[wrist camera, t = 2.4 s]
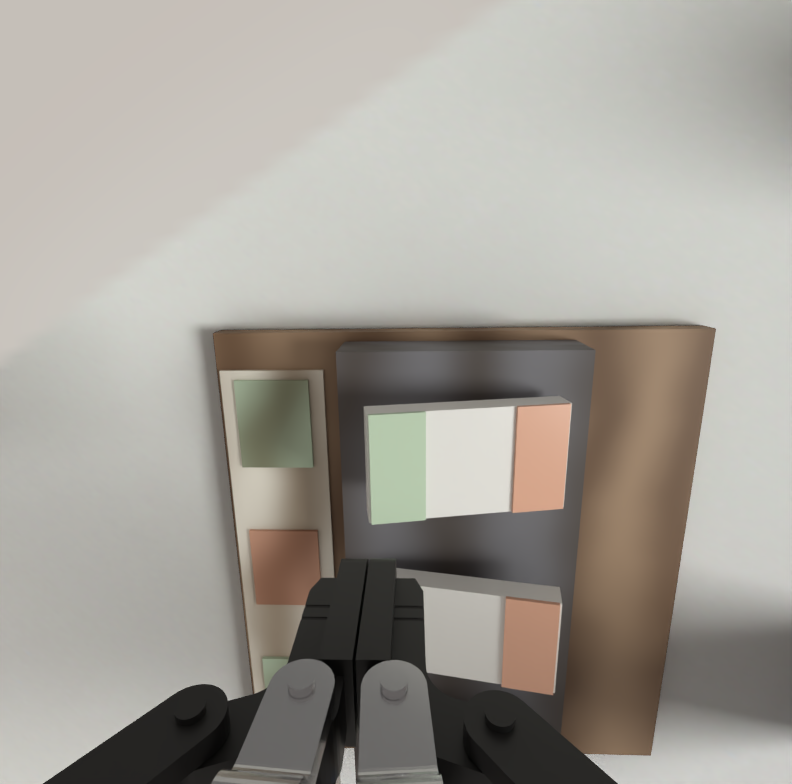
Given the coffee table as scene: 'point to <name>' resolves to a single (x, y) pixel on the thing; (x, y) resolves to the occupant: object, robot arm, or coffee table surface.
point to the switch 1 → (465, 457)
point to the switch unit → (480, 533)
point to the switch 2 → (491, 629)
